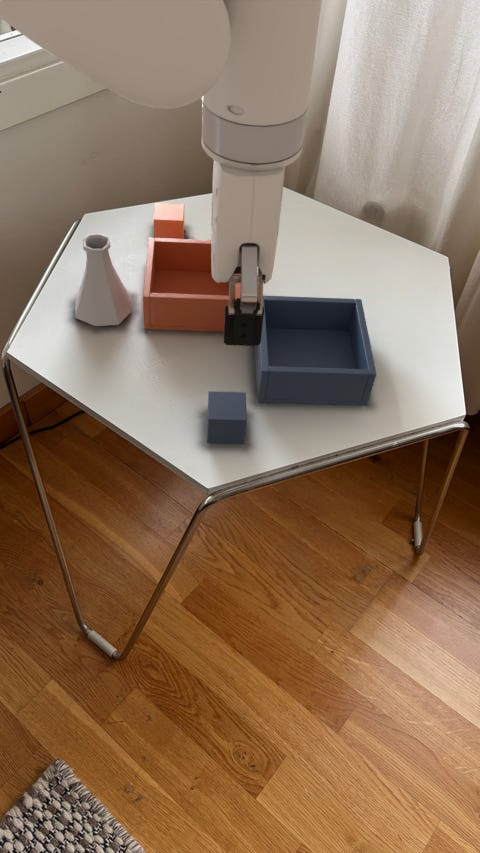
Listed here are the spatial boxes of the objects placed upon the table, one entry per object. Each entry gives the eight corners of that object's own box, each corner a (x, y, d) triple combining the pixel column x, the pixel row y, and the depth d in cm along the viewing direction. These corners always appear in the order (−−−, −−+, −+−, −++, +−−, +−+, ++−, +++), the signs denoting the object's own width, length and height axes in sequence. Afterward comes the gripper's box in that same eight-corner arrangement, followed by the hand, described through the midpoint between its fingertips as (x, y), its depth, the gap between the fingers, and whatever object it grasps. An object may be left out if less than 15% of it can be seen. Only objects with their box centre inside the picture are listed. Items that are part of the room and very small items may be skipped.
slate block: (207, 443, 76) (208, 419, 73) (207, 415, 78) (208, 390, 75) (244, 444, 76) (246, 420, 73) (243, 416, 79) (245, 391, 76)
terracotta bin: (144, 329, 87) (142, 296, 83) (149, 269, 94) (148, 237, 90) (238, 332, 87) (241, 300, 83) (236, 273, 95) (239, 241, 91)
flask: (124, 332, 86) (119, 265, 78) (66, 323, 86) (55, 255, 79) (139, 294, 91) (135, 228, 83) (83, 286, 91) (75, 219, 83)
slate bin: (257, 402, 80) (261, 371, 76) (253, 326, 88) (257, 294, 84) (367, 405, 81) (376, 374, 77) (353, 330, 89) (361, 298, 85)
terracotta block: (154, 244, 98) (153, 219, 94) (155, 227, 100) (155, 202, 97) (183, 245, 98) (183, 220, 95) (184, 228, 100) (184, 204, 97)
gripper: (202, 69, 57) (200, 247, 70) (200, 190, 46) (198, 374, 59) (295, 73, 57) (275, 249, 70) (315, 194, 46) (287, 375, 59)
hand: (240, 306), depth 65 cm, fingers open, 9 cm apart
